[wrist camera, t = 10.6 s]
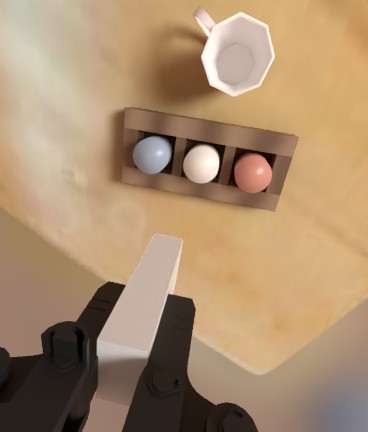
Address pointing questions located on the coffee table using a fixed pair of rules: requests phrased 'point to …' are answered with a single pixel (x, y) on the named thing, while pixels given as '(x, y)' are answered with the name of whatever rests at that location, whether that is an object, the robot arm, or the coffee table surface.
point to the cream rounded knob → (201, 163)
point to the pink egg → (252, 172)
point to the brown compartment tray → (213, 133)
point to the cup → (235, 52)
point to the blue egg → (153, 154)
